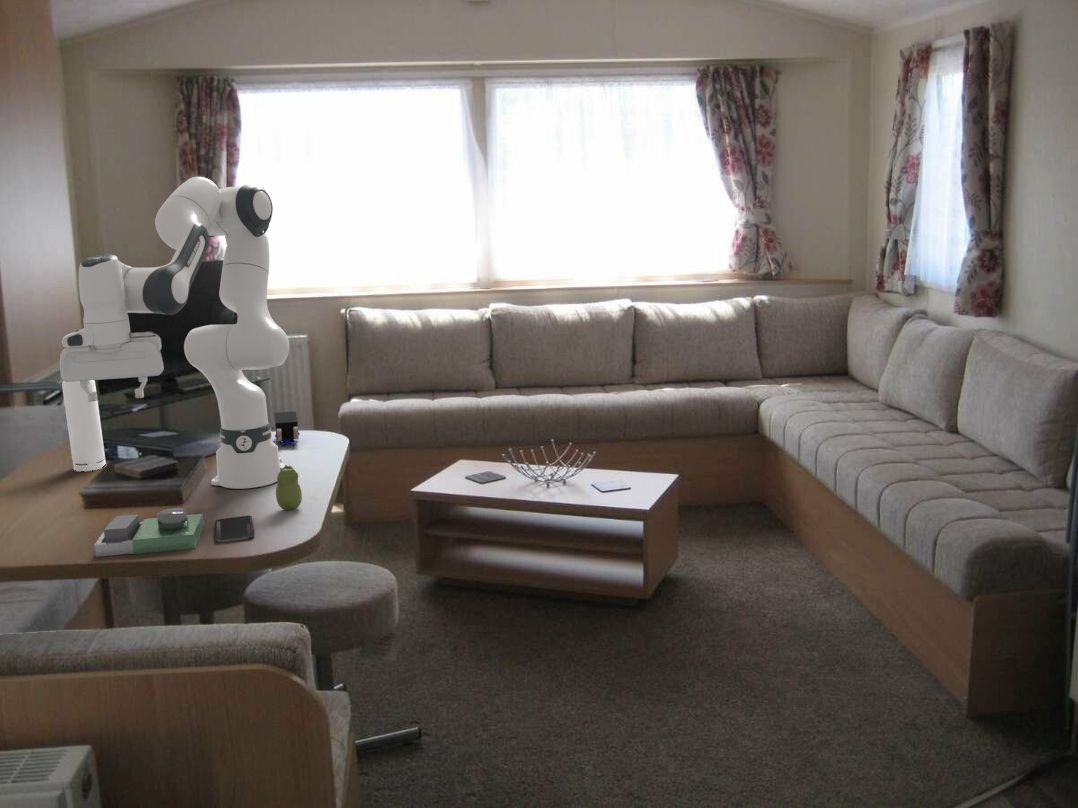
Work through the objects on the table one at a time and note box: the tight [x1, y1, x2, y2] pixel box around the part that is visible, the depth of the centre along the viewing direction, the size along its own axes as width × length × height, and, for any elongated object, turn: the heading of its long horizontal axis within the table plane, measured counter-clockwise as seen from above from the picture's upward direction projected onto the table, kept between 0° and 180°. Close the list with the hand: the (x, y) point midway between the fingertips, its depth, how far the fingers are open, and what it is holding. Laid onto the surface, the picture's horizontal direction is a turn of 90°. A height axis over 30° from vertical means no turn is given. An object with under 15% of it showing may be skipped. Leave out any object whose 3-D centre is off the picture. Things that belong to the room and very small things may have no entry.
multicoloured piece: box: [93, 507, 205, 558], centre depth 233 cm, size 14×20×6 cm
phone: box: [214, 515, 255, 545], centre depth 238 cm, size 8×1×15 cm
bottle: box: [61, 380, 107, 472], centre depth 293 cm, size 8×8×28 cm
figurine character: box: [273, 411, 300, 447], centre depth 313 cm, size 7×8×15 cm
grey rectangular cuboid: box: [103, 514, 141, 543], centre depth 232 cm, size 9×4×5 cm, turn 4°
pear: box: [275, 464, 303, 511], centre depth 250 cm, size 6×5×10 cm
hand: (116, 399), depth 235 cm, fingers open, 8 cm apart
